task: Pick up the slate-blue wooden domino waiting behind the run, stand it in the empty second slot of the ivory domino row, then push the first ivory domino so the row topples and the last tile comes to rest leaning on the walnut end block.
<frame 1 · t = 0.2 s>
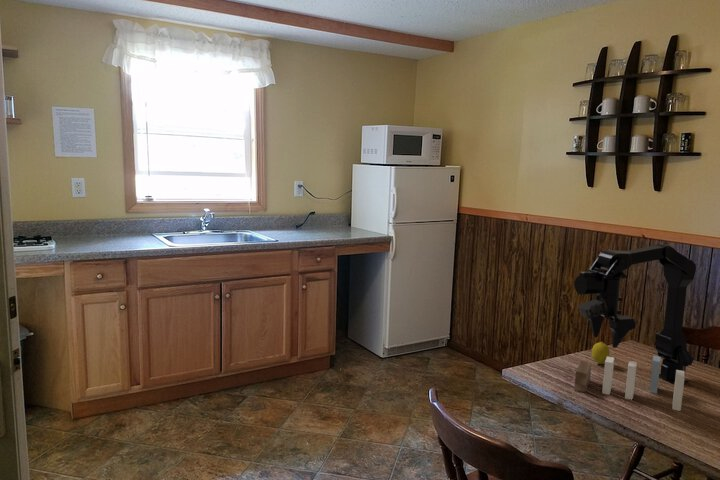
hand: (604, 342, 157), 14 cm above the table, fingers open, 9 cm apart
domino 1: (676, 406, 146), on the table
domino 4: (606, 391, 155), on the table
end block: (582, 385, 159), on the table
blue domino: (653, 389, 157), on the table
domino 3: (629, 396, 152), on the table
lemon: (599, 364, 176), on the table
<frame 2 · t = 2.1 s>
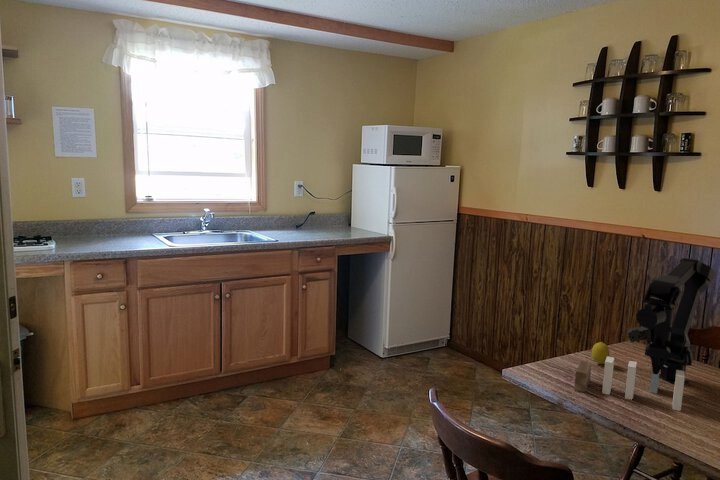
hand: (655, 371, 156), 6 cm above the table, fingers closed on blue domino, 5 cm apart
blue domino: (653, 389, 157), on the table, touching gripper
everything else where it was.
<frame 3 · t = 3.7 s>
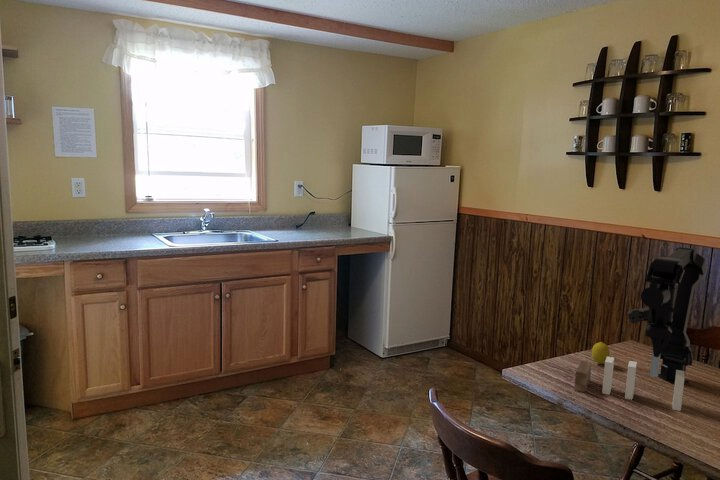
hand: (656, 354, 149), 13 cm above the table, fingers closed on blue domino, 5 cm apart
blue domino: (654, 373, 150), point 7 cm above the table, touching gripper
everything else where it was.
when the fingers open (7 cm above the table, at t = 5.4 s): blue domino drops 1 cm, on the table.
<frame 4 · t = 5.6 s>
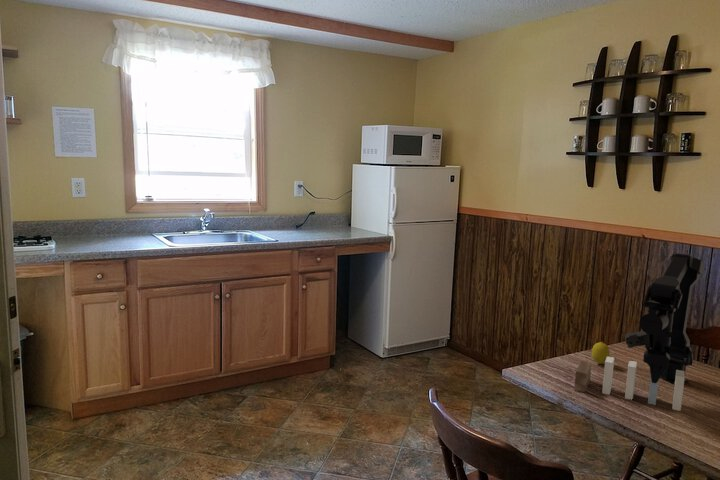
hand: (654, 378, 148), 7 cm above the table, fingers open, 7 cm apart
blue domino: (651, 401, 149), on the table
everything else where it was.
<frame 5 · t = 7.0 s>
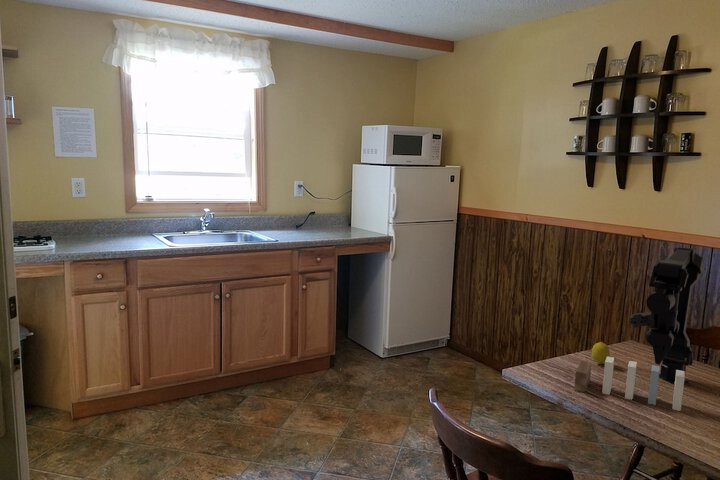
hand: (659, 359, 147), 13 cm above the table, fingers open, 9 cm apart
nothing on the table moved.
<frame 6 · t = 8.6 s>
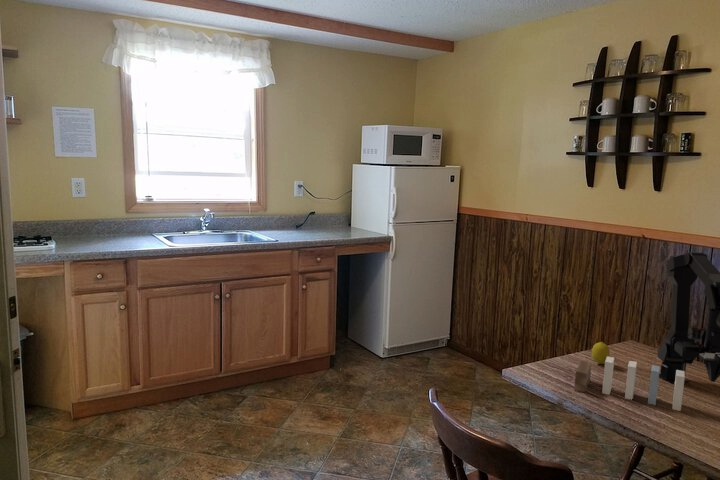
hand: (712, 381, 141), 9 cm above the table, fingers closed
nothing on the table moved.
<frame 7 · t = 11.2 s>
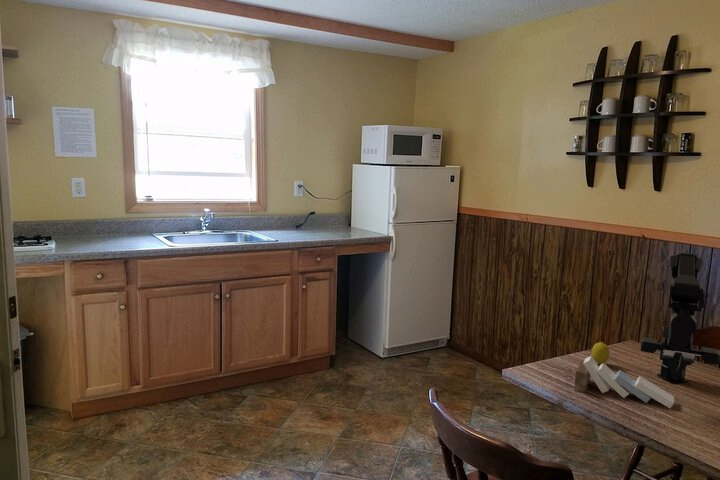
hand: (675, 379, 145), 8 cm above the table, fingers closed
domino 1: (671, 402, 147), point 1 cm above the table, tilted 66°, touching blue domino
domino 4: (606, 388, 155), point 1 cm above the table, tilted 37°, touching domino 3, end block
blue domino: (648, 397, 150), point 1 cm above the table, tilted 61°, touching domino 1, domino 3
domino 3: (627, 393, 153), point 1 cm above the table, tilted 52°, touching blue domino, domino 4
everything else where it was.
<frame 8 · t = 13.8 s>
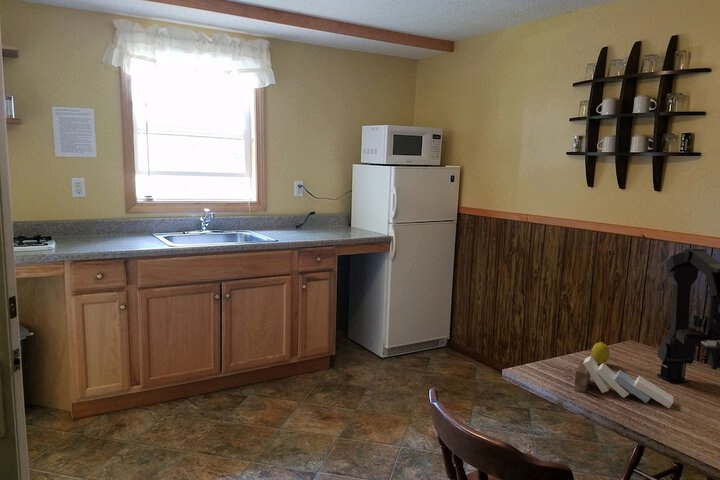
hand: (713, 369, 140), 13 cm above the table, fingers closed
nothing on the table moved.
at the end: domino 4 tilted 37°; domino 4 touching domino 3, end block, table; blue domino tilted 61° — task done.
